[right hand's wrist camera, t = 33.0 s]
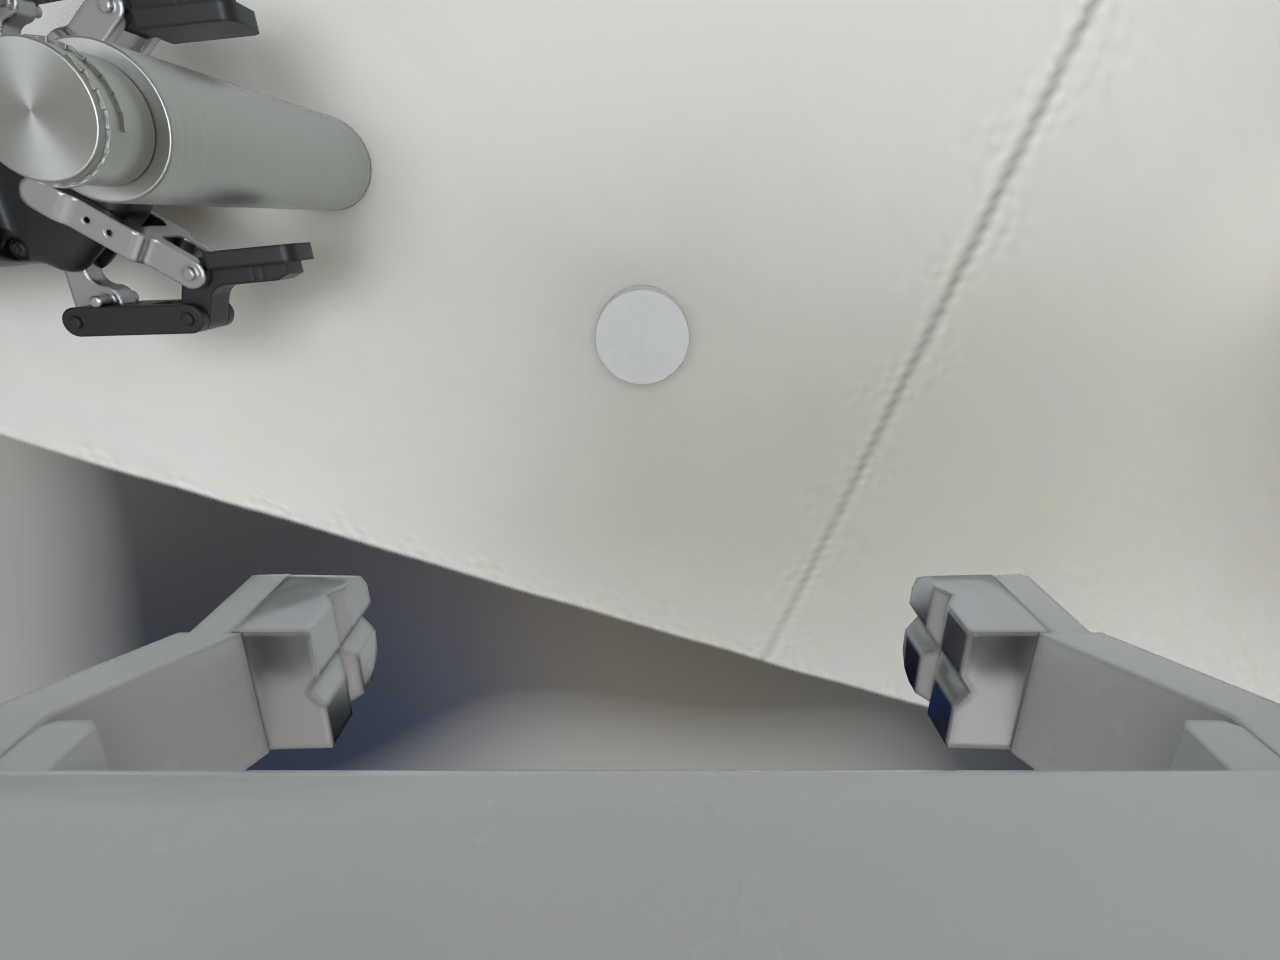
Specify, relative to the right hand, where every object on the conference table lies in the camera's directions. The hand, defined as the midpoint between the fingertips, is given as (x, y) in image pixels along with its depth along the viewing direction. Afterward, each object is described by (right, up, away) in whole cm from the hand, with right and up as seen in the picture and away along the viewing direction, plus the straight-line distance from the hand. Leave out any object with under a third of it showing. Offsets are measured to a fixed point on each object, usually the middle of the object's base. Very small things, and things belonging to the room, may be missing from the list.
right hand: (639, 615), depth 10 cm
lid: (0, +9, +25) cm, 27 cm away
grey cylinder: (-16, +18, +24) cm, 34 cm away
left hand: (-15, +16, +17) cm, 28 cm away
